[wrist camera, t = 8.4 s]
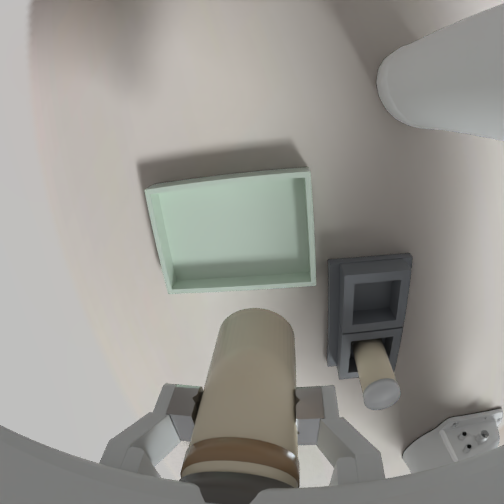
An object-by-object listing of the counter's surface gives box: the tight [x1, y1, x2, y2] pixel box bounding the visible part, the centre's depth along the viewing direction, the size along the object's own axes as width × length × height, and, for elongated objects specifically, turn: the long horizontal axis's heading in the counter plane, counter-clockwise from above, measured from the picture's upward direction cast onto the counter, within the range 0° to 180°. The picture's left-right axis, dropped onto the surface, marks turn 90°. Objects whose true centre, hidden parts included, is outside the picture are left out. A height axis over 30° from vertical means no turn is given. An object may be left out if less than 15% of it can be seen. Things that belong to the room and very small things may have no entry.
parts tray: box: [144, 167, 316, 294], centre depth 31 cm, size 15×11×2 cm
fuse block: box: [327, 253, 413, 379], centre depth 33 cm, size 9×14×4 cm, turn 7°
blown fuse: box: [179, 308, 299, 504], centre depth 11 cm, size 4×4×9 cm
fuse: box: [351, 338, 401, 410], centre depth 31 cm, size 4×4×9 cm
